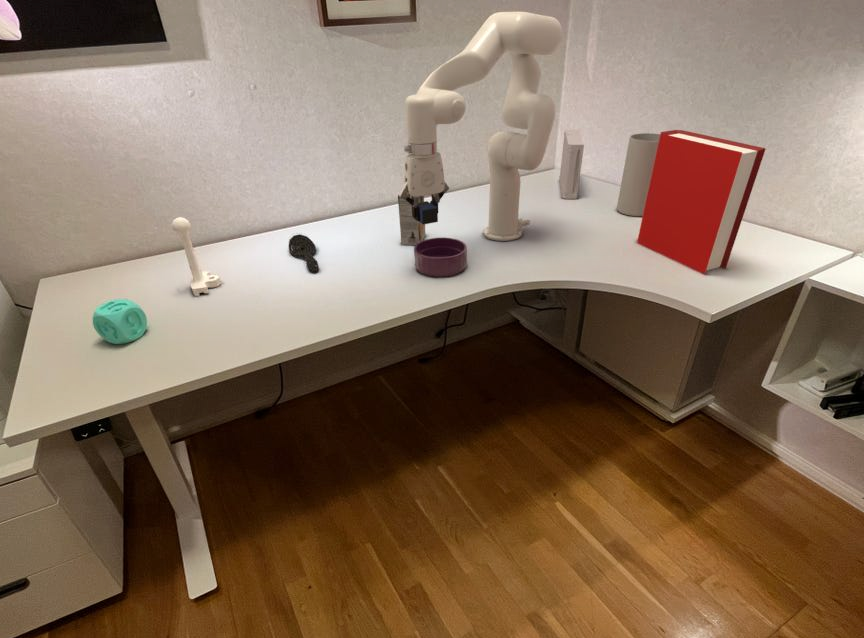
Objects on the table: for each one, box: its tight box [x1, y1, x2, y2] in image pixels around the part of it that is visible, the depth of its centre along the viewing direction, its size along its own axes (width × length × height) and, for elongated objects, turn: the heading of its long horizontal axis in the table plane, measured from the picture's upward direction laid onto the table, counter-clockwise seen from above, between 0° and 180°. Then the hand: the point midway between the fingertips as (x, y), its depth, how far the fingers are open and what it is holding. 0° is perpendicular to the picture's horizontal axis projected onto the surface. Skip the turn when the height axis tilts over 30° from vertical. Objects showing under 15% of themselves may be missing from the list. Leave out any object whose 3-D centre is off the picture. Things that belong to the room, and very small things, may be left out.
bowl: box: [413, 237, 468, 278], centre depth 146 cm, size 15×15×6 cm
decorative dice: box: [92, 298, 148, 345], centre depth 119 cm, size 8×8×8 cm
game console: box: [558, 129, 585, 200], centre depth 200 cm, size 6×27×20 cm, turn 171°
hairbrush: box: [288, 232, 320, 274], centre depth 156 cm, size 8×4×25 cm
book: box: [636, 129, 767, 275], centre depth 141 cm, size 27×8×32 cm, turn 24°
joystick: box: [171, 216, 222, 297], centre depth 137 cm, size 11×8×20 cm
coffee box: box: [397, 193, 426, 246], centre depth 161 cm, size 9×6×16 cm
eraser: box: [418, 200, 439, 225], centre depth 139 cm, size 5×7×4 cm, turn 24°
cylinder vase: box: [616, 132, 661, 217], centre depth 174 cm, size 12×12×25 cm
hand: (425, 217), depth 139 cm, fingers closed on eraser, 4 cm apart
